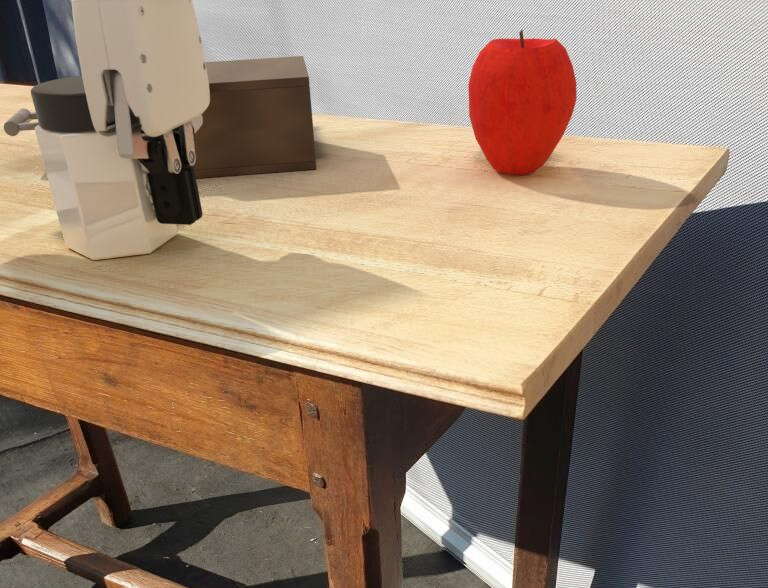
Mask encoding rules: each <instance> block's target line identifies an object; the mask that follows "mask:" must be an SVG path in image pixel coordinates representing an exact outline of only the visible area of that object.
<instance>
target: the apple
mask: <svg viewBox="0 0 768 588" xmlns="http://www.w3.org/2000/svg"><path fill="white" fill-rule="evenodd" d="M467 89H468V116H469V119H470V123H471V127H472V131H473V134H474V138H475V140H476V142H477V144H478V146H479V147H480V150H481V152H482V153H483V155H484V157H485V159H486V161H487V162H488V163H489V165H490V166H491V168H492V169H493V170H494V171H496V172H498V173H500V174H503V175H511V176H524V175H525V176H526V175H530V174H534V173H535V171H537V170H539V169H540V168H542V167H543V166H544V165H545V163H546V162H547V161H548V160H549V159H550V158H551V156H552V154H553V152H554V150H555V149H556V148H557V146H558V144H559V143H560V141H561V139H562V138H563V137H564V135H565V132H566V130H567V128H568V127H569V124H570V121H571V119H572V117H573V115H574V114H573V113H574V110H575V107H576V103H577V93H578V92H577V91H578V90H577V79H576V75H575V70H574V66H573V63H572V61H571V58H570V55H569V53H568V51H567V48H566V47H565V46H564V45H563V44H562V43H561V42H560V41H559V40H558V39H557V38H549V39H547V38H546V39H545V38H524V29H521V30H520V31H519V38H493V39H491V40H490V41H489V42H488V43H487V44H486V45H485V46H484V47H483V48H482V49H481V50H480V51H479V53H478V55H477V56H476V59H475V61H474V63H473V64H472V67H471V72H470V76H469V80H468V87H467Z"/></svg>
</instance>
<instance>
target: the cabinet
mask: <svg viewBox="0 0 768 588" xmlns="http://www.w3.org/2000/svg"><path fill="white" fill-rule="evenodd" d="M205 62H206V68H207V74H208V82H209V91H210V103H209V105H208V107H207V109H206V110H205V111H204V112H203V113H202V117H203V124H202V126H201V127H200V128H199V129H198V131H197V132H196V133H195V135H194V146H195V155H196V161H195V164H194V165H189V167H194V170H195V176H196V179H205V178H218V177H219V178H220V177H232V176H245V175H258V174H259V175H260V174H272V173H273V174H274V173H283V172H284V173H285V172H299V171H300V172H301V171H311V170H317V156H316V145H315V143H316V142H315V133H314V131H315V130H314V121H313V109H312V98H311V97H312V96H311V86H310V85H311V84H310V76H309V73H308V69H307V64H306V61H305V58H304V56H303V55H297V56H296V55H295V56H284V57H283V56H281V57H279V56H278V57H265V58H264V57H263V58H251V59H236V60H235V59H233V60H217V61H205Z"/></svg>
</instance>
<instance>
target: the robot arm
mask: <svg viewBox="0 0 768 588" xmlns="http://www.w3.org/2000/svg"><path fill="white" fill-rule="evenodd" d="M70 1H71V12H72V13H71V14H72V22H73V30H74V37H75V44H76V49H77V55H78V56H77V57H78V61H79V66H80V67H79V68H80V72H81V76H82V78H83V83H84V88H85V93H86V98H87V102H88V107H89V111H90V115H91V119H92V123H93V126H94V128H95V130H96V132H97V133H98V134H99V135H101V136H106V137H109V136H114V135H116V134H117V144H118V152H119V155H120V157H121V158H123V159H138V160H139V162H140V165H141V168H142V171H143V172H144V173H147V175H148V180H149V185H150V189H151V194H152V199H153V203H154V208H155V212H156V217H157V220H158V222H159V223H161V224H176V225H183V226H185V225H186V226H191V225H193V224H194V223H196V221H199V220H200V219H202V218H203V208H202V203H201V198H200V193H199V187H198V181H197V178H196V176H195V170H194V167H189V165H194V164H195V161H196V155H195V146H194V135H195V133H196V132H197V131H198V129H199V128H200V127H201V126H202V124H203V117H202V113H203V112H204V111H205V110H206V109H207V107H208V105H209V103H210V91H209V82H208V74H207V68H206V62H207V61H206V57H205V51H204V47H203V41H202V36H201V32H200V27H199V23H198V19H197V14H196V10H195V7H194V3H193V0H70ZM106 120H107V123H108V125H106ZM113 122H115V123H113ZM114 127H116V128H114ZM115 129H116V132H114V131H115ZM112 132H113V133H112Z"/></svg>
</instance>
